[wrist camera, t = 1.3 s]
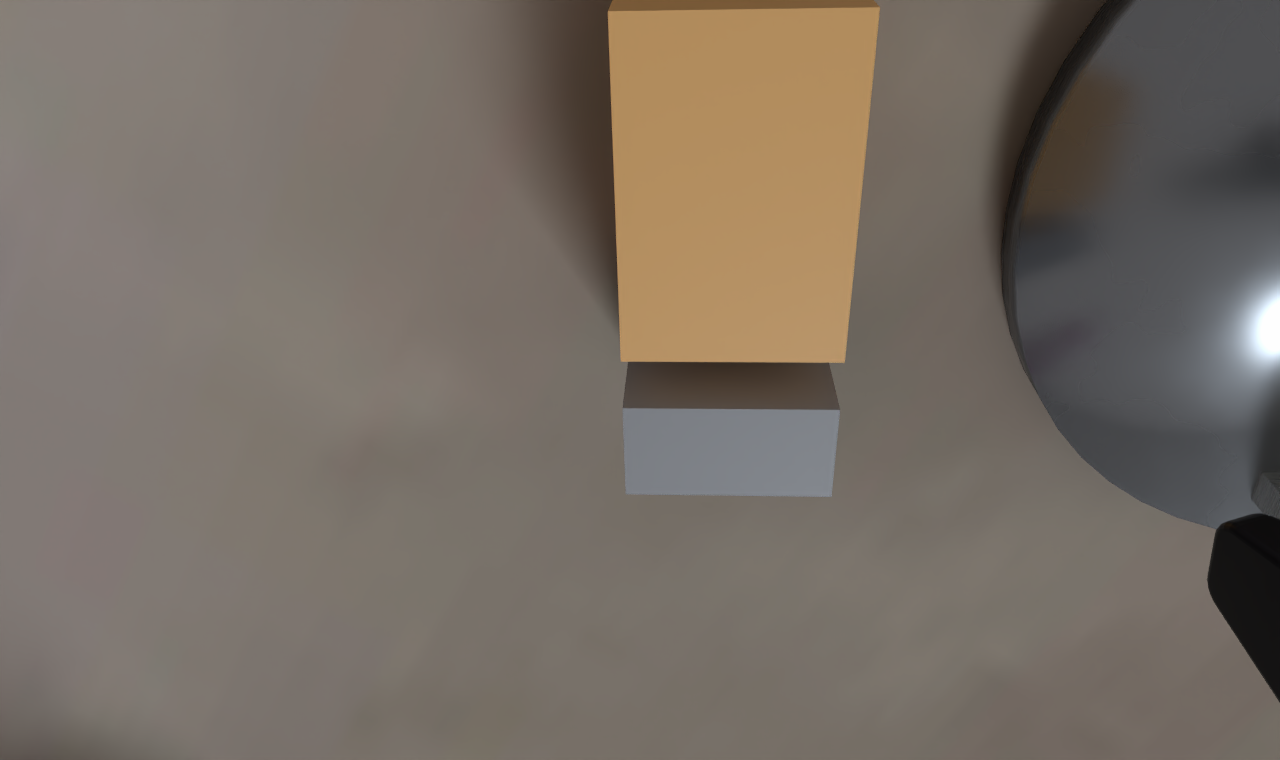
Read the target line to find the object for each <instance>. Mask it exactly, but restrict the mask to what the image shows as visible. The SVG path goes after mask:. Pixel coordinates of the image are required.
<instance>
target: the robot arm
mask: <svg viewBox="0 0 1280 760" xmlns="http://www.w3.org/2000/svg"><path fill="white" fill-rule="evenodd" d="M1207 581H1208V588H1209V591H1210V594H1211V597H1212V599H1213V601H1214V603H1215V604H1216V606H1217V608H1218V609H1219V611H1220V612H1221V614H1222V615H1223V617H1224V618H1225V620H1226V621H1227V623H1228V624H1229V626H1230V627H1231V629H1232V630H1233V632H1234V633H1235V635H1236V637H1237V638H1238V640H1239V641H1240V643H1241V644H1242V646H1243V647H1244V649H1245V650H1246V652H1247V653H1248V655H1249V656H1250V658H1251V659H1252V661H1253V662H1254V664H1255V665H1256V667H1257V669H1258V670H1259V672H1260V673H1261V675H1262V676H1263V678H1264V679H1265V681H1266V682H1267V684H1268V685H1269V687H1270V688H1271V690H1272V691H1273V693H1274V694H1275V696H1276V698H1277V699H1278V701H1279V702H1280V519H1278V518H1276V517H1273V516H1270V515H1267V514H1262V513H1255V514H1250V515H1246V516H1243V517H1240V518H1236V519H1233V520H1230V521H1226V522H1224V523H1222V524H1221V525H1220V526H1219V527H1218V528H1217V530H1216V533H1215V537H1214V543H1213V548H1212V554H1211V560H1210V565H1209V571H1208V578H1207Z"/></svg>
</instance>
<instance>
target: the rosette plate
mask: <svg viewBox="0 0 1280 760" xmlns="http://www.w3.org/2000/svg"><path fill="white" fill-rule="evenodd" d="M1001 257H1002V285H1003V299H1004V304H1005V309H1006V314H1007V319H1008V324H1009V329H1010V334H1011V337H1012V340H1013V343H1014V345H1015V348H1016V351H1017V353H1018V356H1019V359H1020V361H1021V364H1022V367H1023V369H1024V371H1025V373H1026V375H1027V376H1028V378H1029V380H1030V382H1031V383H1032V385H1033V387H1034V389H1035V390H1036V392H1037V394H1038V395H1039V397H1040V399H1041V401H1042V402H1043V404H1044V406H1045V408H1046V409H1047V411H1048V413H1049V414H1050V416H1051V418H1052V420H1053V421H1054V423H1055V425H1056V427H1057V428H1058V430H1059V431H1060V432H1061V433H1062V435H1063V436H1064V437H1065V438H1066V439H1067V441H1068V442H1069V443H1070V444H1071V445H1072V447H1073V448H1074V449H1075V450H1076V451H1077V453H1078V454H1079V455H1080V456H1081V457H1082V458H1083V459H1084V460H1085V461H1086V462H1087V463H1089V464H1090V465H1091V466H1092V467H1093V468H1094V469H1095V470H1097V471H1098V472H1099V473H1100V474H1101V475H1102V476H1104V477H1105V478H1106V479H1107V480H1108V481H1109V482H1111V483H1112V484H1114V485H1116V486H1117V487H1119V488H1120V489H1122V490H1124V491H1125V492H1127V493H1128V494H1130V495H1132V496H1133V497H1135V498H1136V499H1138V500H1140V501H1141V502H1143V503H1146V504H1148V505H1150V506H1152V507H1155V508H1157V509H1159V510H1161V511H1164V512H1166V513H1168V514H1170V515H1173V516H1175V517H1177V518H1181V519H1184V520H1187V521H1191V522H1194V523H1197V524H1201V525H1204V526H1208V527H1211V528H1214V529H1217V528H1218V527H1219V526H1220V525H1221V524H1222V523H1224V522H1226V521H1230V520H1233V519H1236V518H1240V517H1243V516H1246V515H1250V514H1255V513H1262V514H1267V515H1270V516H1273V517H1276V518H1278V519H1280V0H1108V1H1107V2H1106V3H1105V4H1104V6H1103V7H1102V8H1101V9H1100V10H1099V11H1098V13H1097V14H1096V16H1095V17H1094V19H1093V20H1092V22H1091V23H1090V25H1089V26H1088V27H1087V29H1086V30H1085V32H1084V33H1083V35H1082V36H1081V38H1080V39H1079V41H1078V42H1077V44H1076V45H1075V47H1074V48H1073V49H1072V51H1071V52H1070V54H1069V55H1068V57H1067V58H1066V60H1065V61H1064V63H1063V65H1062V67H1061V69H1060V70H1059V72H1058V74H1057V76H1056V78H1055V80H1054V82H1053V84H1052V85H1051V87H1050V89H1049V91H1048V93H1047V95H1046V97H1045V99H1044V100H1043V102H1042V104H1041V106H1040V108H1039V110H1038V112H1037V114H1036V117H1035V119H1034V122H1033V124H1032V127H1031V130H1030V132H1029V135H1028V137H1027V140H1026V142H1025V145H1024V148H1023V150H1022V153H1021V155H1020V158H1019V160H1018V164H1017V168H1016V172H1015V176H1014V180H1013V184H1012V188H1011V192H1010V196H1009V200H1008V204H1007V208H1006V216H1005V225H1004V234H1003V243H1002V252H1001Z"/></svg>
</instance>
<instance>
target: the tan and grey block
mask: <svg viewBox="0 0 1280 760" xmlns="http://www.w3.org/2000/svg"><path fill="white" fill-rule="evenodd" d="M879 12H880V7H879V6H878V5H877V3H876V2H875V1H874V0H612V2H611V5H610V7H609V9H608V31H609V58H610V84H611V111H612V138H613V164H614V191H615V218H616V245H617V271H618V298H619V325H620V351H621V362H628V368H627V376H626V384H625V393H624V401H623V431H624V458H625V485H626V494H653V495H733V496H813V497H831V495H832V485H833V475H834V465H835V455H836V445H837V435H838V425H839V415H840V408H839V404H838V399H837V395H836V391H835V387H834V383H833V378H832V374H831V370H830V366H829V363H845V354H846V344H847V334H848V324H849V314H850V304H851V294H852V284H853V274H854V264H855V254H856V244H857V234H858V224H859V213H860V203H861V193H862V183H863V173H864V163H865V153H866V143H867V133H868V123H869V113H870V103H871V93H872V83H873V72H874V62H875V52H876V42H877V32H878V22H879Z"/></svg>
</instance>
